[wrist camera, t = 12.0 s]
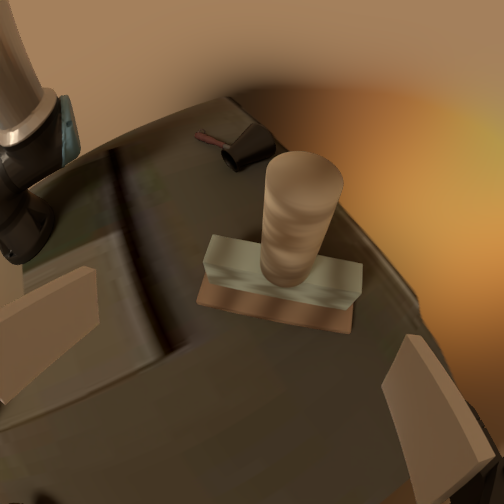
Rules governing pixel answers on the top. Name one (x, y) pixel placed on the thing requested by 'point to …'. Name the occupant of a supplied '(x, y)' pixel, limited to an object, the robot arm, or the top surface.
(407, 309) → the top surface
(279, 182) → the rod
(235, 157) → the coffee pot
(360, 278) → the stand
